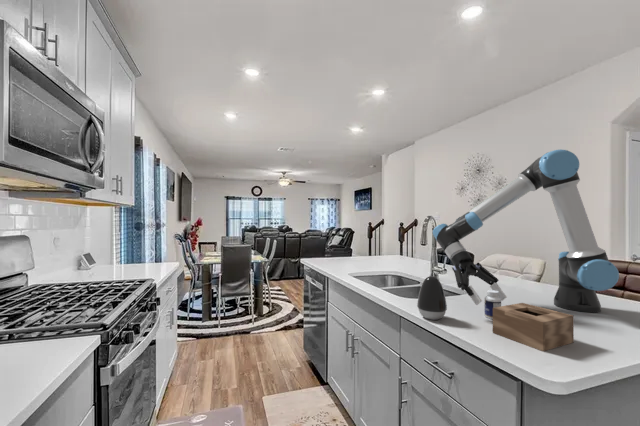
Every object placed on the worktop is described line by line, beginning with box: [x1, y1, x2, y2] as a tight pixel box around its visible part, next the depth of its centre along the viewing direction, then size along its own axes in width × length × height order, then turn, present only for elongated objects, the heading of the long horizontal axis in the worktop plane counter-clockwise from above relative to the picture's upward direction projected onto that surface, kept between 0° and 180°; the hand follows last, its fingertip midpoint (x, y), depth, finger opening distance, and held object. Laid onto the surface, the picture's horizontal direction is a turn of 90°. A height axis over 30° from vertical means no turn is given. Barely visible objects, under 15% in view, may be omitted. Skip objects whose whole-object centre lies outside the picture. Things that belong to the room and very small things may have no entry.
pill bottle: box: [484, 289, 502, 320], centre depth 115 cm, size 5×5×10 cm
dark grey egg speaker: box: [416, 275, 448, 321], centre depth 114 cm, size 10×10×15 cm
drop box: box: [492, 302, 575, 352], centre depth 96 cm, size 15×15×8 cm
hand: (491, 301), depth 115 cm, fingers open, 13 cm apart
